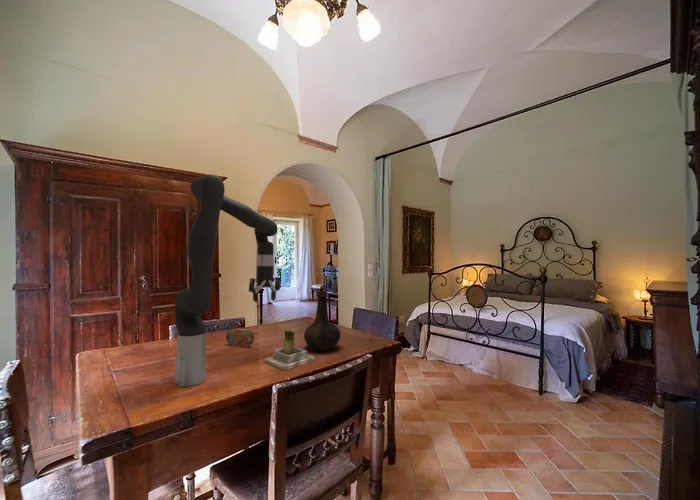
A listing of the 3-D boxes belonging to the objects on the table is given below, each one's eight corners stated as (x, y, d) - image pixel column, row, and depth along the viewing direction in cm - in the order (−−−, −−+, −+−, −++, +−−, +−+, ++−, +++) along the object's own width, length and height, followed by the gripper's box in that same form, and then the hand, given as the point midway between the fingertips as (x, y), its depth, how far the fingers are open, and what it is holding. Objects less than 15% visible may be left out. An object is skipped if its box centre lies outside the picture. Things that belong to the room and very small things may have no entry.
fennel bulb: (282, 356, 133) (283, 328, 133) (294, 355, 135) (294, 327, 135) (285, 360, 128) (285, 331, 128) (297, 359, 130) (297, 330, 130)
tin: (225, 345, 154) (225, 328, 154) (229, 343, 157) (230, 327, 157) (251, 348, 149) (251, 331, 149) (255, 346, 152) (255, 329, 152)
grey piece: (283, 370, 121) (283, 359, 121) (264, 362, 130) (264, 351, 130) (314, 360, 132) (315, 350, 132) (295, 353, 142) (295, 343, 142)
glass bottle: (323, 356, 138) (324, 294, 138) (296, 349, 148) (296, 291, 149) (347, 347, 152) (348, 291, 152) (321, 341, 163) (321, 288, 163)
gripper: (254, 265, 131) (254, 303, 130) (283, 265, 141) (282, 300, 140) (246, 264, 136) (245, 301, 136) (274, 264, 146) (274, 298, 146)
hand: (264, 300), depth 138 cm, fingers open, 8 cm apart
